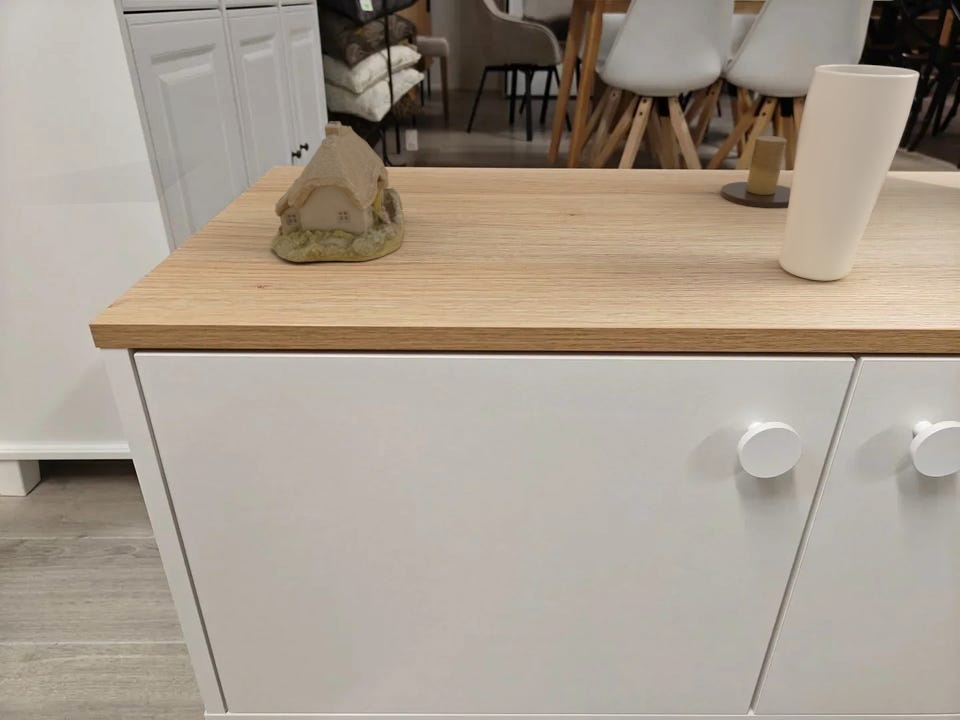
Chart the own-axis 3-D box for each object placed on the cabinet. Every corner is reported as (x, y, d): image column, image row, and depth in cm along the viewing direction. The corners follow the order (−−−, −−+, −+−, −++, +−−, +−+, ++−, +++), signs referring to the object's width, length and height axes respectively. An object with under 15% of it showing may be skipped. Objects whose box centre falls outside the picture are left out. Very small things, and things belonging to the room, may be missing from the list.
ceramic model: (389, 268, 54) (380, 141, 49) (255, 263, 55) (233, 137, 50) (419, 215, 67) (415, 109, 62) (309, 211, 67) (296, 106, 63)
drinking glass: (804, 291, 51) (861, 76, 43) (750, 259, 56) (792, 65, 49) (879, 282, 52) (946, 73, 45) (818, 252, 58) (869, 63, 50)
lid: (742, 183, 78) (753, 128, 75) (812, 197, 73) (826, 139, 70) (706, 196, 73) (716, 138, 70) (778, 212, 68) (792, 150, 65)
